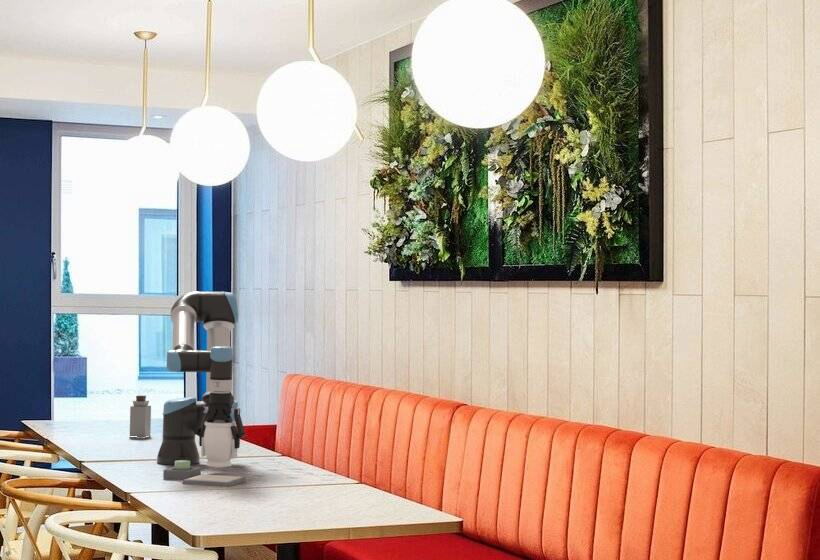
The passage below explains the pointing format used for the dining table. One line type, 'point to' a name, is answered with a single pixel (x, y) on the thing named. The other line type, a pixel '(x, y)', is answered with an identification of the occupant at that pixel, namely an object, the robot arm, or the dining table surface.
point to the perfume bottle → (140, 417)
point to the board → (214, 480)
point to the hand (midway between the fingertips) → (219, 457)
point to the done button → (182, 465)
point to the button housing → (180, 473)
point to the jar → (218, 443)
